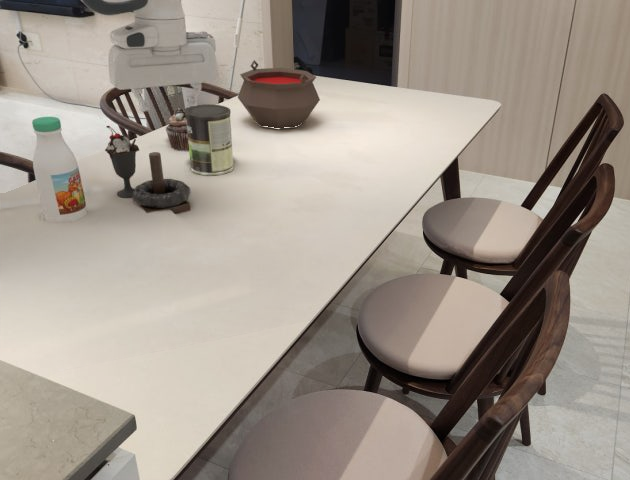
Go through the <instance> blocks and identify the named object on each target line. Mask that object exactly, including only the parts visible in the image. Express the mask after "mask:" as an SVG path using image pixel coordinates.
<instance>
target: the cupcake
mask: <svg viewBox="0 0 630 480" xmlns="http://www.w3.org/2000/svg"><path fill="white" fill-rule="evenodd" d="M187 108H188V107H186V108H185V109H187ZM185 109H184V108H182V107H180V106H178V108H177V110H176V111H174V112H173V113H174V114H172V116H170V117H169V118H168V119H167V123H168V125H167V126H166V127H165V131H166V132H165V133H166V134H167V139H168V141H169V145H170V147H171V148H172V149H173V148H174V149H173V150H175V149H178V150H177V151H182V150H184V151H185V150H187V151H189V143H188V134H187V124H186V115H185Z"/></svg>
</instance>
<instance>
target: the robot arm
mask: <svg viewBox="0 0 630 480" xmlns="http://www.w3.org/2000/svg"><path fill="white" fill-rule="evenodd" d="M80 1H81V2H82V3H83V4H84V6H86V7H87V8H88V9H90V10H91V11H92V12H94V13H96V14H99V15H100V16H101V15H102V16H107V17H108V16H110V17H111V16H112V17H113V16H117V15H120V14H121V15H122V14H126V13H130V12H133V15H134V21H133V22H131V23H129V24H126V25H123V26H120V27H118V28H115V29H113V30H111V31H110V32H109V39H110V41H111V42H112V44H113V45H112V46H111V47H110V49H109V50H108V57H107V58H108V62H107V63H108V77H109V82H110V83H111V85H112V86H113V87H115V88H116V89H117V90H120V91H121V90H124V91H125V90H130V91H131V93H132V95H133V96H134V97H135V99H136V100H137V102H138V104H139V110H140V111H141V112H142V113H144V112H150V111H151V104H150V101H148V100H147V99H145V100H144V98H143V97H142V96H141V95H142V94H143V89H145V88H147V89H148V88H158V87H169V86H170V87H171V86H180V85H190V87H192V90H191V93H190V95H186V105H187V106H188V107H192V106H197V105H198V98H199V96H200V93H201V91H202V89H203V87H202V83H214V82H216V81H217V80H218V78H219V68H218V61H217V57H216V54H215V53H216V50H217V47H216V40H215V37H214V36H213V35H212V34H210V33H208V32H207V31H198V32H195V31H187V26H186V16H185V15H186V14H185V12H184V9H183V5H182V0H80Z"/></svg>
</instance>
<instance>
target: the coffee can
mask: <svg viewBox="0 0 630 480" xmlns="http://www.w3.org/2000/svg"><path fill="white" fill-rule="evenodd" d="M186 108H187V109H186ZM186 108H185V109H184V110H185V115H186V124H187V134H188V143H189V150H188V151H189V152H188V153H189V162H190V170H191V172H193V173H194V174H197V175H201V176H221V175H225V174H228V173H230V172H232V171H233V170H234V169H235V166H234V155H233V154H234V153H233V140H232V124H231V122H232V121H231V113H232V112H231V109H230V108H229V107H227V106H224V105H220V104H212V103H211V104H208V103H207V104H197V106H192V107H190V106H188V107H186Z"/></svg>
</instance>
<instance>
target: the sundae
mask: <svg viewBox="0 0 630 480" xmlns="http://www.w3.org/2000/svg"><path fill="white" fill-rule="evenodd" d="M106 128H107V129H110V131H111V134H110V135H109V140H110V141H108V142H107V146H106V148H105V149H104V151H105V152H106V153H107V154H108V155H109V157H110V160H111V164H112V167H113V170H114V172H115V174H116V176H118V177H119V178H121V179H122V180H123V183H124V187H123V188H122V189H120V190H118V191H117V192H116V196H117V197H120V198H122V199H123V198H124V199H125V198H127V199H128V198H132V197H133V192H134V190H135V188H133V187H132V185H131V181H130V180H131V178H132V177H133V176H134V175H135V173H136V166H137V165H136V159H137V158H136V156H137V152H139V151H140V148H139V146H138V145H137V144H135V143H136V140H137V139H136V138H134V139H133V141H132V143H131V141H130V138H129V137H127V136H126V135H122V134H120V133H118V132H116V131H115V130H114V129H113V128H112V127H111V125H106Z"/></svg>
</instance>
